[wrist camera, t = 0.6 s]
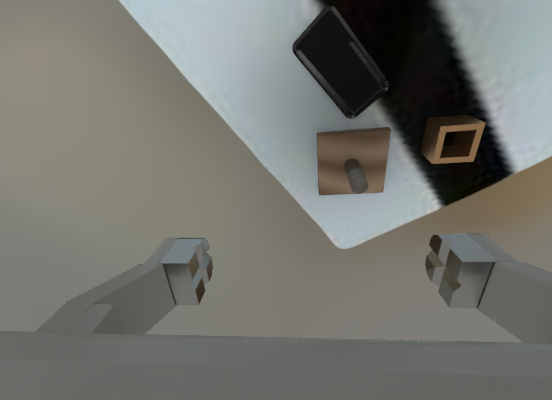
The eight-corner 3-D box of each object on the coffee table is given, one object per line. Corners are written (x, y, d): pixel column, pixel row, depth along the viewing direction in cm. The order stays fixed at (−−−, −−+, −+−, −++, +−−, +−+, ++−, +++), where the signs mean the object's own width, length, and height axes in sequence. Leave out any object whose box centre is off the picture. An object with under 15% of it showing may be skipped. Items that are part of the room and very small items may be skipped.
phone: (350, 121, 43) (289, 48, 38) (349, 119, 44) (289, 47, 39) (392, 86, 39) (331, 0, 35) (390, 85, 40) (330, 1, 35)
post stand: (317, 132, 45) (319, 152, 37) (388, 127, 43) (406, 146, 35) (318, 191, 51) (320, 219, 43) (381, 188, 49) (395, 216, 41)
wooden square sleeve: (427, 117, 42) (440, 126, 38) (467, 114, 41) (485, 122, 37) (420, 152, 45) (432, 163, 41) (457, 149, 44) (473, 161, 40)
